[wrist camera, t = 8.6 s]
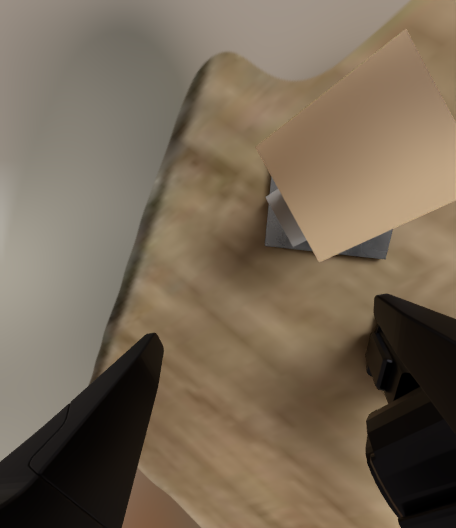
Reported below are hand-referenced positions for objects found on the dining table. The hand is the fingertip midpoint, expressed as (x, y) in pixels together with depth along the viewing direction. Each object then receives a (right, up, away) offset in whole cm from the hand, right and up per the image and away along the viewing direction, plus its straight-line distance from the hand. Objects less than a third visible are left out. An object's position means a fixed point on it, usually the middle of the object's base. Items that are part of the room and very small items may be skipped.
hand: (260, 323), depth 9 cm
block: (+7, +8, +9) cm, 14 cm away
